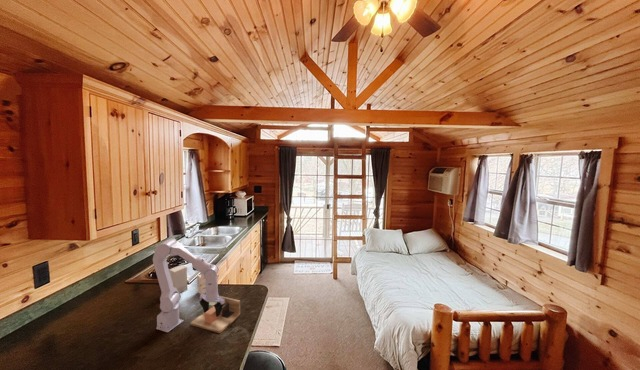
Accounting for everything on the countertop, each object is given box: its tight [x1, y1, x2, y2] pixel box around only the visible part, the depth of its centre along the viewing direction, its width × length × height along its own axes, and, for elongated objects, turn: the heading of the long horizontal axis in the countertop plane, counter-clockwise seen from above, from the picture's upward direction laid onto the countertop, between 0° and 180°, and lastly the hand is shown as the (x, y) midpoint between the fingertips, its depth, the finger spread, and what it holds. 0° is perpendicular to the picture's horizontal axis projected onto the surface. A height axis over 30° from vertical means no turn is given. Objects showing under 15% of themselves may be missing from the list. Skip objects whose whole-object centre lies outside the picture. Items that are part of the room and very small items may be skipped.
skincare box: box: [169, 264, 189, 294], centre depth 158 cm, size 8×7×16 cm
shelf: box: [190, 295, 241, 334], centre depth 131 cm, size 16×18×8 cm
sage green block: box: [209, 302, 217, 309], centre depth 137 cm, size 5×4×5 cm
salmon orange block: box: [205, 306, 221, 324], centre depth 130 cm, size 7×4×5 cm, turn 162°
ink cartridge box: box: [196, 273, 206, 295], centre depth 159 cm, size 9×5×15 cm, turn 143°
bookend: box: [221, 303, 234, 318], centre depth 134 cm, size 5×4×5 cm
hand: (212, 314), depth 129 cm, fingers open, 7 cm apart
